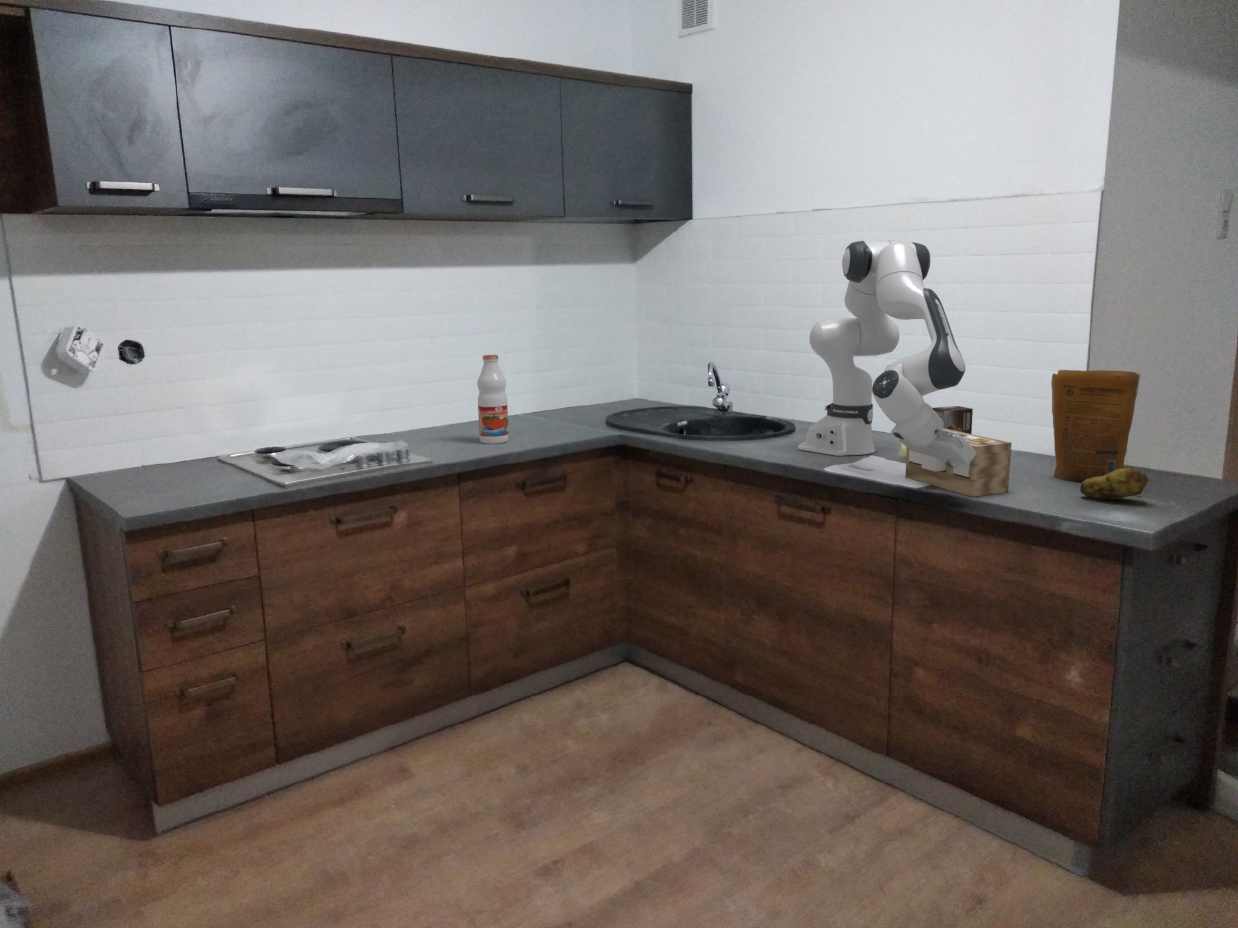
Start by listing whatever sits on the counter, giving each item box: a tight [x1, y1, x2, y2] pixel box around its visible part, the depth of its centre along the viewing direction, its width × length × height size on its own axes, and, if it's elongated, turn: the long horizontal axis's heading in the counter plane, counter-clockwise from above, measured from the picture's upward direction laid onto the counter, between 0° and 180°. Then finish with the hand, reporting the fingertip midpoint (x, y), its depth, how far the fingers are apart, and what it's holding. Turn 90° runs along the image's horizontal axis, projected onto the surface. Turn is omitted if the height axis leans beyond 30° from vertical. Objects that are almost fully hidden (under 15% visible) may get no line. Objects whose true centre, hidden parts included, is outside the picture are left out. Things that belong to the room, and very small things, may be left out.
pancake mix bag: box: [1050, 369, 1141, 483], centre depth 224 cm, size 7×19×28 cm, turn 47°
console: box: [904, 428, 1013, 498], centre depth 226 cm, size 11×24×12 cm, turn 22°
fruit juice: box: [477, 354, 510, 445], centre depth 294 cm, size 9×9×28 cm
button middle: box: [922, 454, 947, 472], centre depth 224 cm, size 9×5×5 cm, turn 112°
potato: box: [1079, 467, 1149, 500], centre depth 208 cm, size 8×13×8 cm, turn 37°
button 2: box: [953, 462, 971, 477], centre depth 218 cm, size 9×5×5 cm, turn 112°
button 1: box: [909, 449, 922, 464], centre depth 233 cm, size 9×5×5 cm, turn 112°
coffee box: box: [932, 405, 974, 434], centre depth 246 cm, size 9×6×16 cm
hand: (953, 465), depth 215 cm, fingers closed
